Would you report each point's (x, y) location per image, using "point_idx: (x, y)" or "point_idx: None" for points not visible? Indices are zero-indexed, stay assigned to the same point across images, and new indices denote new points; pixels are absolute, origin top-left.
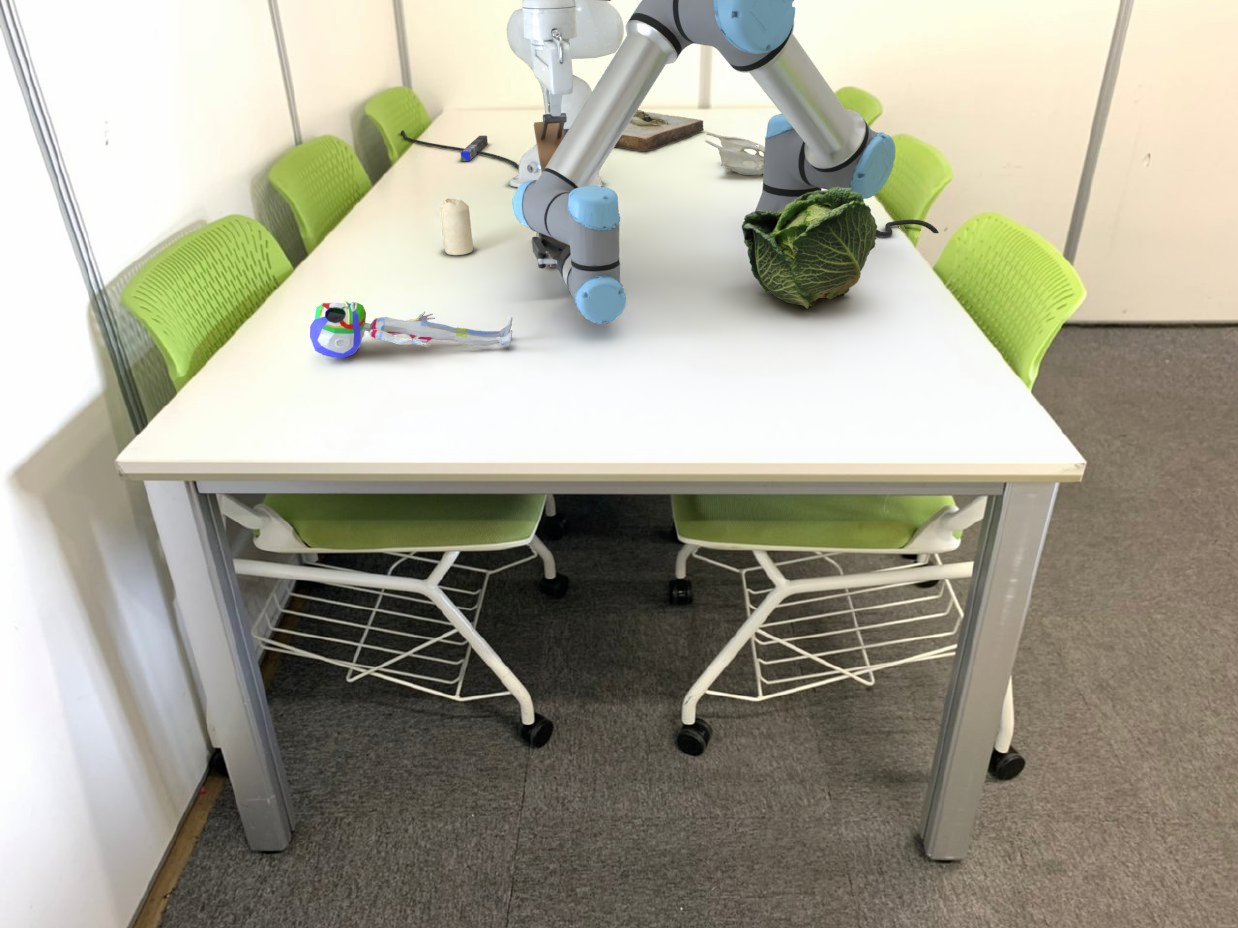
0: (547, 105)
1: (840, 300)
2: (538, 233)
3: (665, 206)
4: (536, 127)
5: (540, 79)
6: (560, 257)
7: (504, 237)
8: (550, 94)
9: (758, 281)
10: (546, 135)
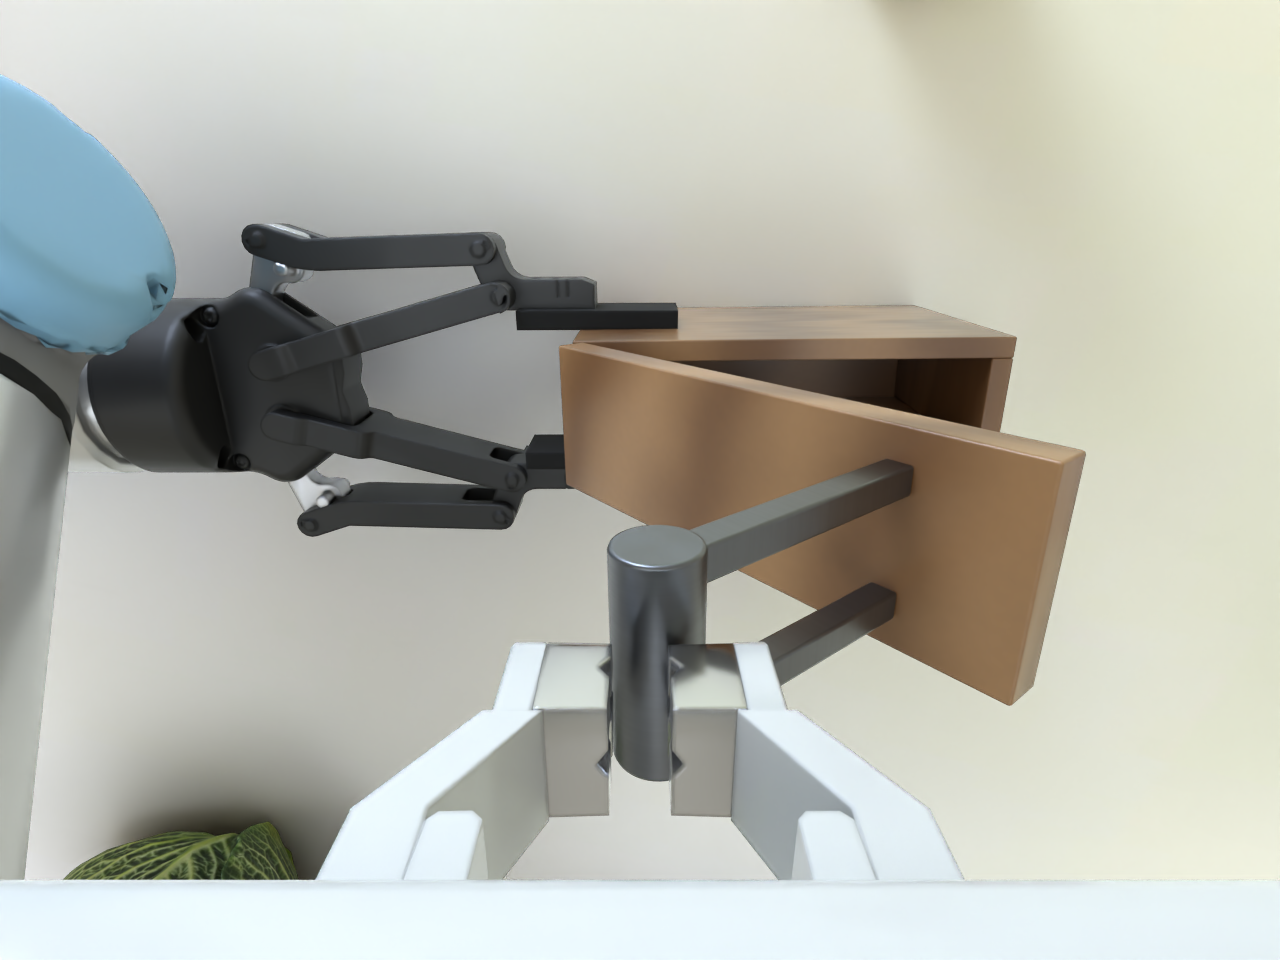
0: (761, 681)
1: None
2: (878, 311)
3: (1094, 791)
4: (1000, 464)
5: (916, 947)
6: (166, 312)
7: (1025, 172)
8: (342, 835)
9: (249, 829)
10: (912, 515)
